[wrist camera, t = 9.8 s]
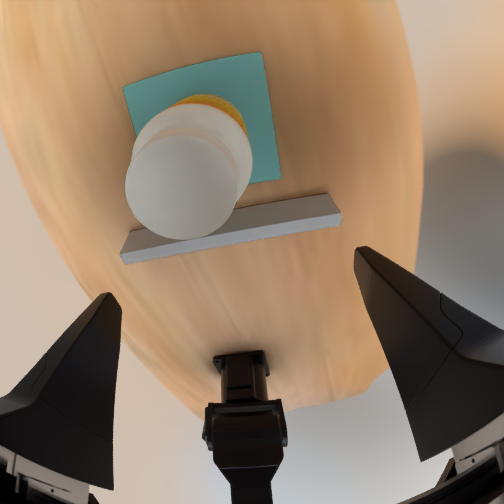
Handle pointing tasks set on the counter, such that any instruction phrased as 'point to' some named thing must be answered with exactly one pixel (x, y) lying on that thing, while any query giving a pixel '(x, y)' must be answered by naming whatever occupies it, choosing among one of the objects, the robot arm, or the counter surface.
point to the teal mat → (222, 84)
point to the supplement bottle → (189, 167)
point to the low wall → (240, 228)
